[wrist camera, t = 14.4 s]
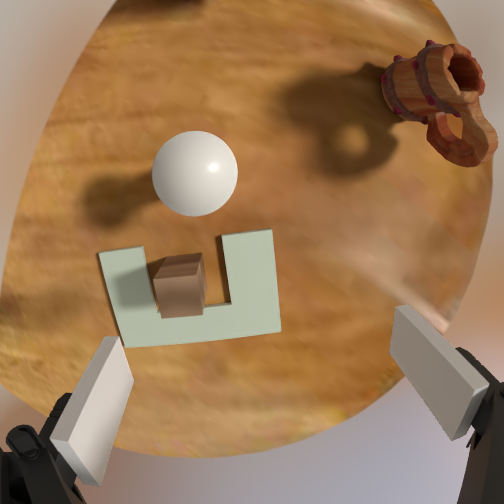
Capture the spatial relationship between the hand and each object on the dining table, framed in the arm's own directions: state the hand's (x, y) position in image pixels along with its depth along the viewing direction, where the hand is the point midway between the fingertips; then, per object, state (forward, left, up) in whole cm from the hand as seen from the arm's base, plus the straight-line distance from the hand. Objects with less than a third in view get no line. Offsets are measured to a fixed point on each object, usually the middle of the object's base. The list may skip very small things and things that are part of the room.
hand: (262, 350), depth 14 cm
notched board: (+7, -7, -26) cm, 28 cm away
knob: (-8, -3, -26) cm, 27 cm away
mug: (-14, +24, -26) cm, 38 cm away
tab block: (+4, -7, -26) cm, 27 cm away
